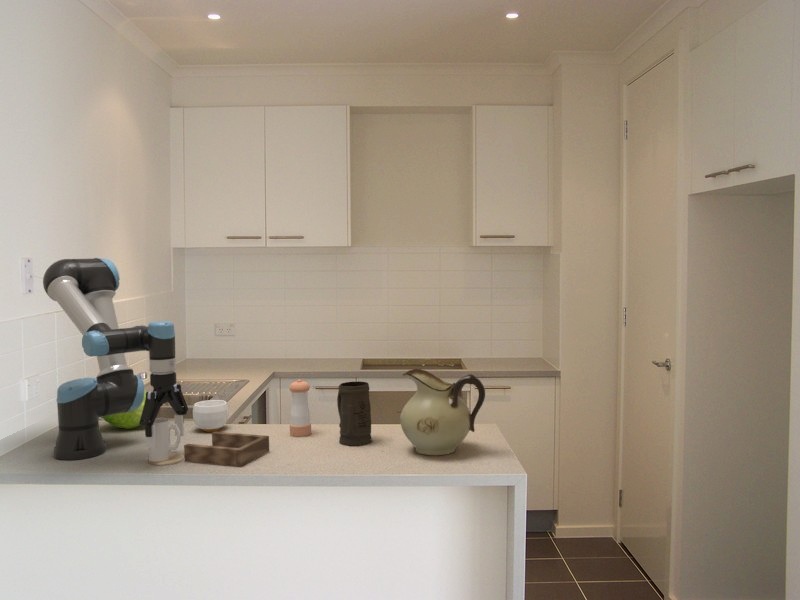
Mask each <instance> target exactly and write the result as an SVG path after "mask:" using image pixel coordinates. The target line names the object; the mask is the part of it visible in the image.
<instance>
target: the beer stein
mask: <svg viewBox="0 0 800 600" xmlns="http://www.w3.org/2000/svg"><path fill="white" fill-rule="evenodd" d="M337 392H338V393H337V398H336V399H337V400H336V403H337V404H336V405H337V410H338V416H339V419H340V421H339V426H338V427H339V441H338V442H339V444H340V445H342V446H350V447H357V446H358V447H359V446H361V447H362V446H365V445H368V444H370V443H371V442H372V441H373V439H372V416H371V415H372V414H371V412H372V411H371V410H372V409H371V401H370V384H369V382H367V381H360V380H359V381H347V382H346V381H345V382H342V383H340V384H339V385H338V391H337Z"/></svg>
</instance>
